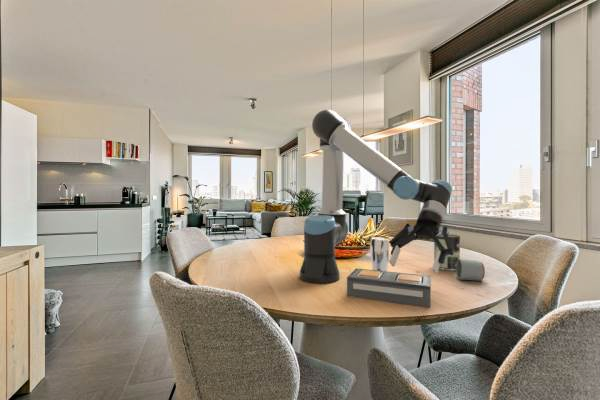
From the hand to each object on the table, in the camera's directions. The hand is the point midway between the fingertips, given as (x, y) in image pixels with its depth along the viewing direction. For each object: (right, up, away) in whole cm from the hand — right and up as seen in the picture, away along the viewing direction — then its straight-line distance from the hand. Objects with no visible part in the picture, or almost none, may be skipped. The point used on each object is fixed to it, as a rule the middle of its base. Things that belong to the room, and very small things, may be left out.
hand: (412, 267), depth 95 cm
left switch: (-12, -6, +4) cm, 14 cm away
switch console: (-7, -9, +1) cm, 11 cm away
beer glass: (-5, -9, +21) cm, 23 cm away
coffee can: (+29, -9, +37) cm, 48 cm away
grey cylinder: (+29, -9, +20) cm, 36 cm away
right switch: (-1, -6, -1) cm, 7 cm away
